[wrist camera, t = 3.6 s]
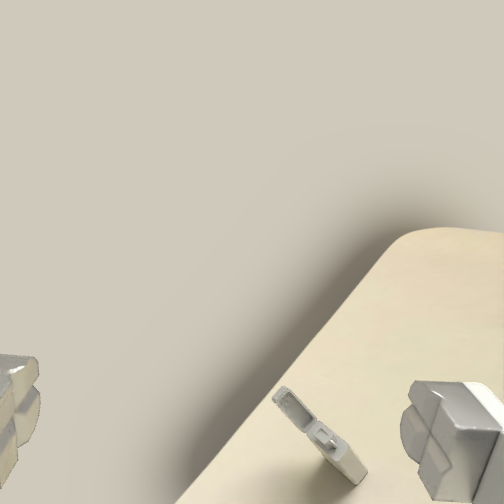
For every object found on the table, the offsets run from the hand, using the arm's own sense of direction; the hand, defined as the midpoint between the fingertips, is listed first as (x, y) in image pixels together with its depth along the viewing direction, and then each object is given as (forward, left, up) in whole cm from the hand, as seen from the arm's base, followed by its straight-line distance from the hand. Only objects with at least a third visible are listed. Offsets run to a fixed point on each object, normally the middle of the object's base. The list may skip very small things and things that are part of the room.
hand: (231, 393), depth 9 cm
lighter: (-5, -18, -30) cm, 35 cm away
